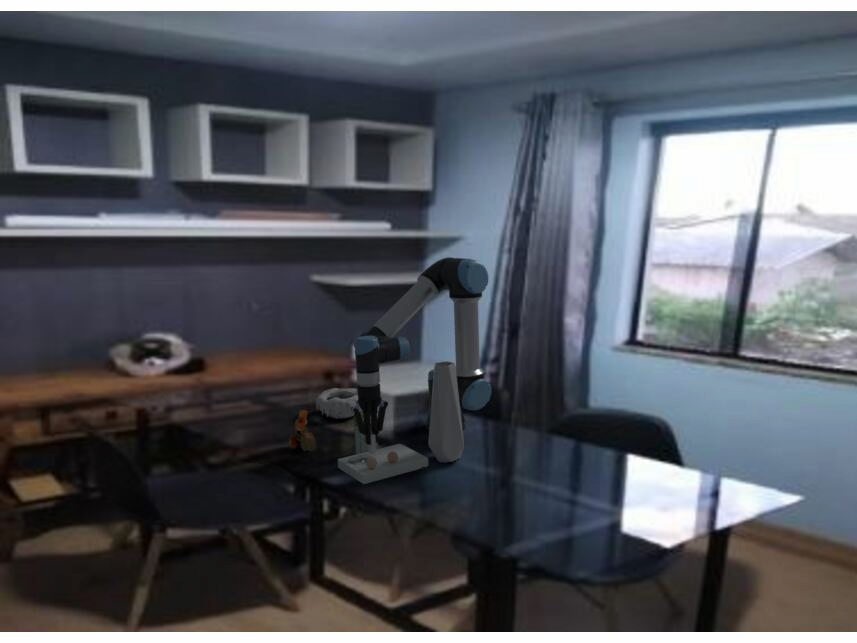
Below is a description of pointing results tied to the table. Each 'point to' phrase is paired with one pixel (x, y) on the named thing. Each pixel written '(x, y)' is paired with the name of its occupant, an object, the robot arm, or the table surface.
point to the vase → (445, 414)
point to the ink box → (360, 440)
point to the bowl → (337, 402)
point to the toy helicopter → (303, 434)
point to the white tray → (382, 463)
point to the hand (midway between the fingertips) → (372, 452)
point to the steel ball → (360, 461)
